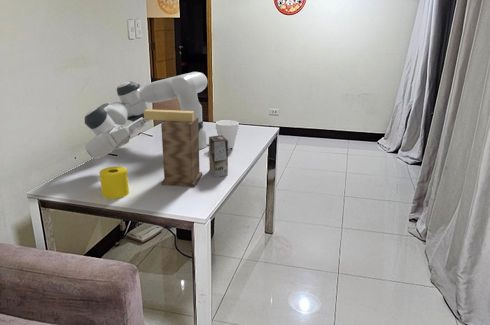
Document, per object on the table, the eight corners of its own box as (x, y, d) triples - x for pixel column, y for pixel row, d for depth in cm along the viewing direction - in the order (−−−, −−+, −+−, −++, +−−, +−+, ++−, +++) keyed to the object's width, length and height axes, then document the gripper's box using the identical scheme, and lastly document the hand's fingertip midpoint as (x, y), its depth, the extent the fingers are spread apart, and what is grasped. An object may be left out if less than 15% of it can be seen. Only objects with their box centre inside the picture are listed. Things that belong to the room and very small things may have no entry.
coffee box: (228, 175, 177) (228, 140, 172) (214, 177, 175) (214, 141, 170) (222, 168, 185) (222, 135, 180) (208, 170, 183) (208, 136, 178)
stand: (161, 184, 166) (157, 123, 157) (171, 172, 179) (168, 115, 171) (194, 186, 164) (192, 124, 156) (202, 174, 178) (201, 116, 169)
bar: (144, 119, 163) (143, 111, 162) (147, 117, 167) (146, 109, 165) (192, 121, 161) (192, 113, 160) (194, 119, 164) (194, 111, 163)
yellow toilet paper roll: (113, 187, 163) (111, 165, 160) (134, 190, 160) (132, 168, 157) (96, 196, 154) (93, 173, 151) (117, 200, 151) (115, 177, 148)
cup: (239, 144, 222) (240, 120, 217) (237, 151, 210) (237, 125, 206) (217, 143, 223) (217, 119, 218) (213, 150, 211) (213, 125, 207)
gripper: (132, 135, 179) (158, 121, 175) (112, 148, 160) (140, 133, 156) (125, 123, 177) (150, 108, 174) (103, 135, 158) (131, 119, 154)
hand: (145, 120), depth 165 cm, fingers open, 8 cm apart
